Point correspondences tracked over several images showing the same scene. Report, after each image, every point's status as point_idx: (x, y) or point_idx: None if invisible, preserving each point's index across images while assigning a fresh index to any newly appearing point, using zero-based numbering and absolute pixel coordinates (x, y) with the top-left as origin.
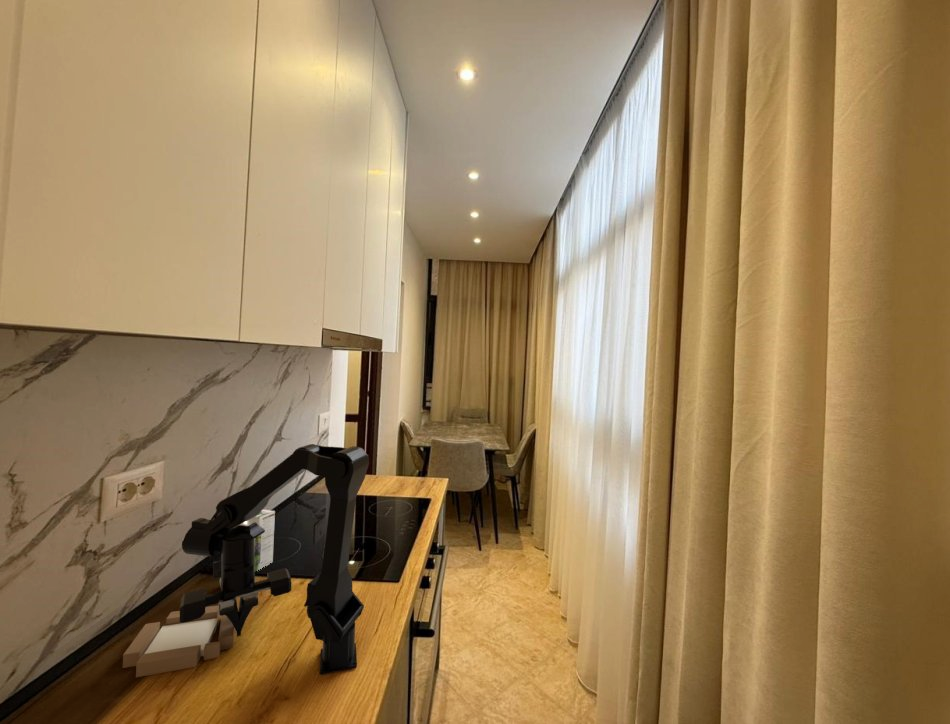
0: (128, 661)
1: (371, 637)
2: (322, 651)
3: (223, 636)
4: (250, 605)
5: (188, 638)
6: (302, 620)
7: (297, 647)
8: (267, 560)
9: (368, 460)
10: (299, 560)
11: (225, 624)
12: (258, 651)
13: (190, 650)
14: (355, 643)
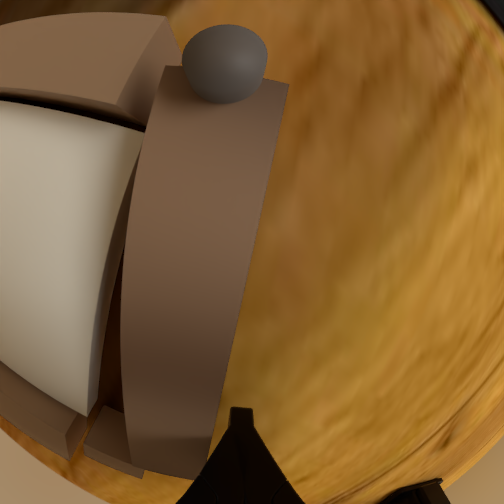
0: None
1: (468, 460)
2: (396, 497)
3: (154, 467)
4: None
5: (7, 280)
6: (471, 369)
7: (379, 474)
8: None
9: None
10: None
11: (156, 392)
12: (289, 468)
13: (41, 433)
14: (441, 482)
